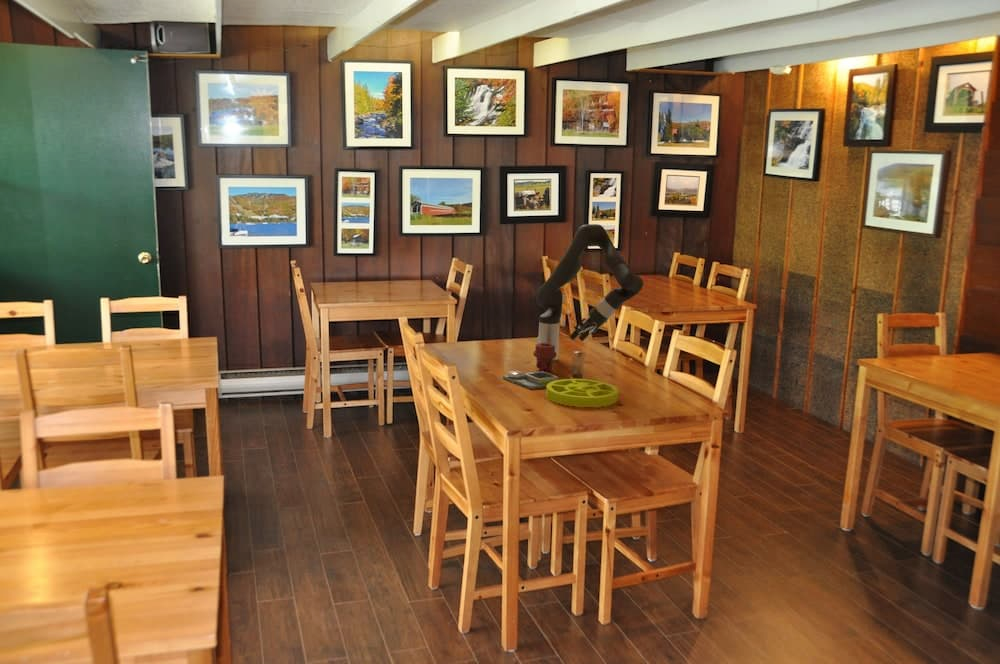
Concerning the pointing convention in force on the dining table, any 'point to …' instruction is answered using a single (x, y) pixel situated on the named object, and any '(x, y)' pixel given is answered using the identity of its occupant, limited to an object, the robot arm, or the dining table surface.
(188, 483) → the dining table surface
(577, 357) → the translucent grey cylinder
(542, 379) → the carrier plate
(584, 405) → the pulley
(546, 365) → the mechanical component
